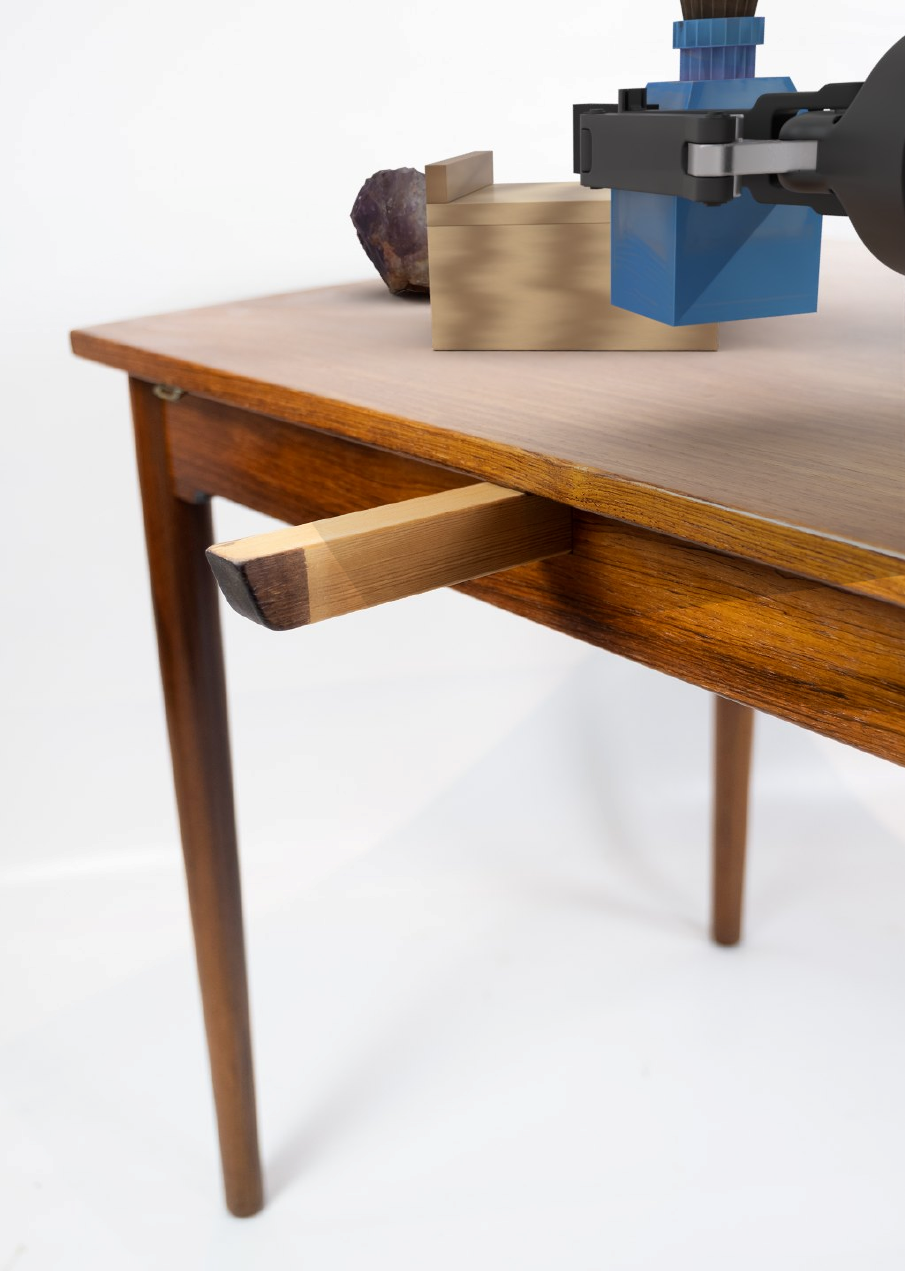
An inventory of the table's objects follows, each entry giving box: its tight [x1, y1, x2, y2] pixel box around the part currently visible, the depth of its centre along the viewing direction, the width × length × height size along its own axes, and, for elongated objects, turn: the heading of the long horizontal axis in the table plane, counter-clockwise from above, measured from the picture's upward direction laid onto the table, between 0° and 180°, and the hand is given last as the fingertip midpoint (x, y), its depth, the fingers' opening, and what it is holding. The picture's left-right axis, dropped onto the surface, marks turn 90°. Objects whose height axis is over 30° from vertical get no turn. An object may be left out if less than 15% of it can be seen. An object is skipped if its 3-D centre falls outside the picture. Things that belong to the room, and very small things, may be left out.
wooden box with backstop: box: [424, 150, 720, 352], centre depth 79 cm, size 16×14×10 cm
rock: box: [349, 166, 430, 295], centre depth 96 cm, size 12×9×10 cm
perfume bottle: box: [611, 0, 824, 327], centre depth 52 cm, size 6×6×12 cm
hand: (658, 134), depth 57 cm, fingers closed on perfume bottle, 6 cm apart
